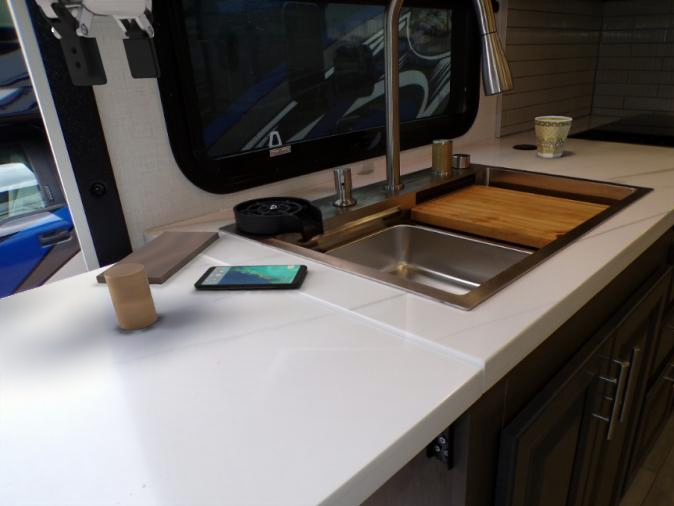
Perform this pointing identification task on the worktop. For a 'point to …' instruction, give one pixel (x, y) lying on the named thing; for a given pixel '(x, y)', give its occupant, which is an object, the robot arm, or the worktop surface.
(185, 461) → the worktop surface
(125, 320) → the wooden cylinder
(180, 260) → the walnut board
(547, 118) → the ceramic cup
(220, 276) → the smartphone
